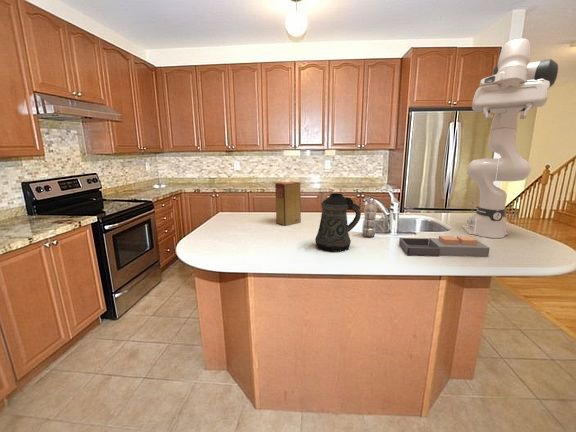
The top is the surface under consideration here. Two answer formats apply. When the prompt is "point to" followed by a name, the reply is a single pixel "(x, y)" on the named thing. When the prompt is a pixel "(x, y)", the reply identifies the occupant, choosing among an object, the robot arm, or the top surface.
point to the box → (418, 247)
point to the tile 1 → (448, 240)
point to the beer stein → (336, 223)
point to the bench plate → (460, 249)
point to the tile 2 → (467, 240)
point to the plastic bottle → (370, 218)
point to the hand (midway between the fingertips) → (504, 118)
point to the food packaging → (288, 203)
